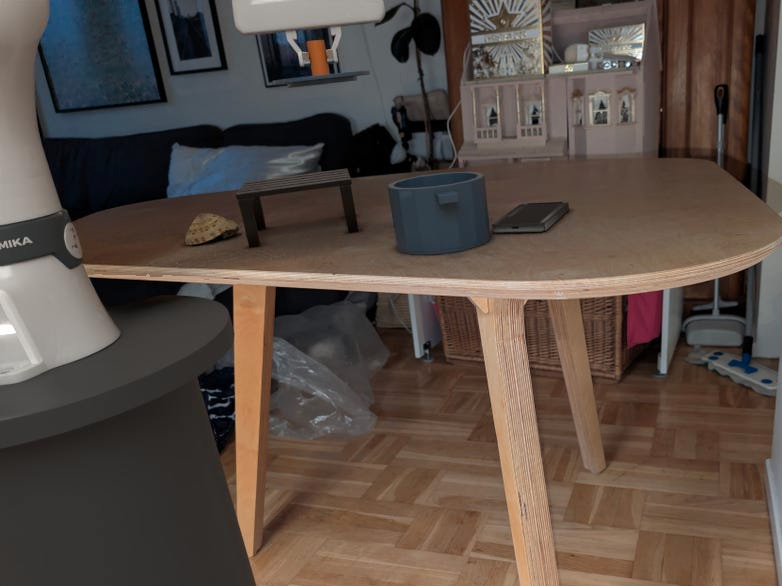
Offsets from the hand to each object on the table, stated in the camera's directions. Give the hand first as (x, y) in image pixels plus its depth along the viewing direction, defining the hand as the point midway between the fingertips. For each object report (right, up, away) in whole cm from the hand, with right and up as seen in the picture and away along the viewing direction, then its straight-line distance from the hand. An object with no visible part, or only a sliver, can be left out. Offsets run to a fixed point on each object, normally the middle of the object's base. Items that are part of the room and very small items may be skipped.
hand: (319, 65), depth 98 cm
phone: (+30, -21, +4) cm, 37 cm away
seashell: (-21, -22, +17) cm, 35 cm away
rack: (-6, -20, +16) cm, 27 cm away
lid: (0, -2, +1) cm, 2 cm away
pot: (+18, -25, -3) cm, 31 cm away
